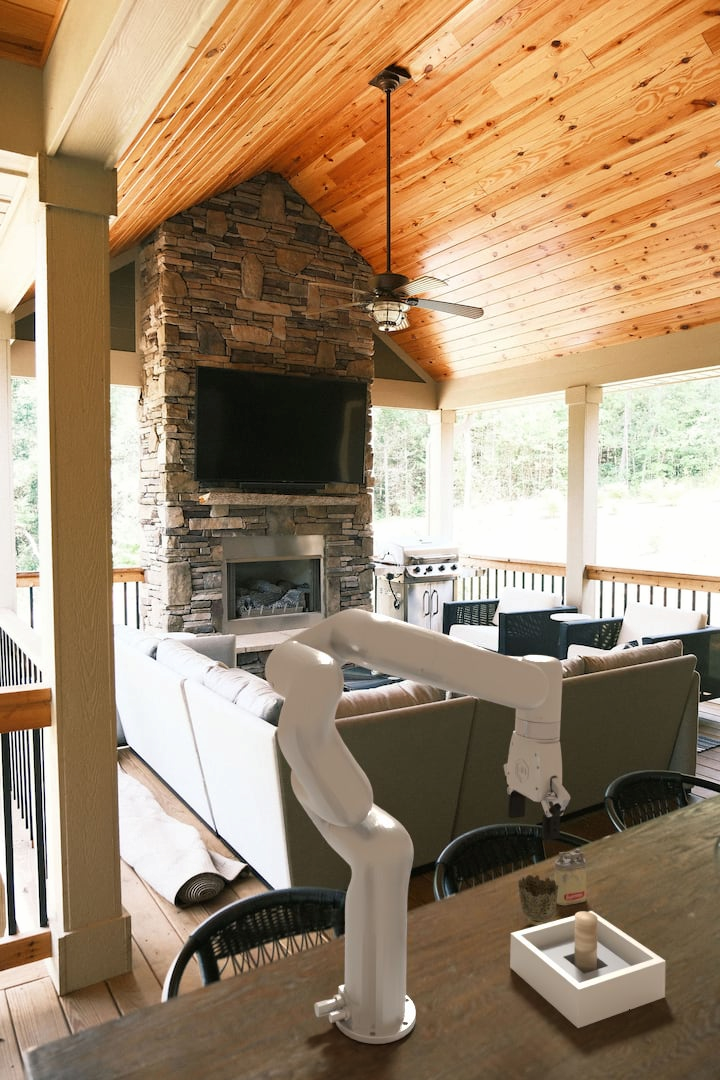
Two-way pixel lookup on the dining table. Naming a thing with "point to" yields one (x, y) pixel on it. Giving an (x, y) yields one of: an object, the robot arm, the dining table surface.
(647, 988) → the box
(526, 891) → the cup
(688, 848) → the dining table surface
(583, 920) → the peg
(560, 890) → the lighter
